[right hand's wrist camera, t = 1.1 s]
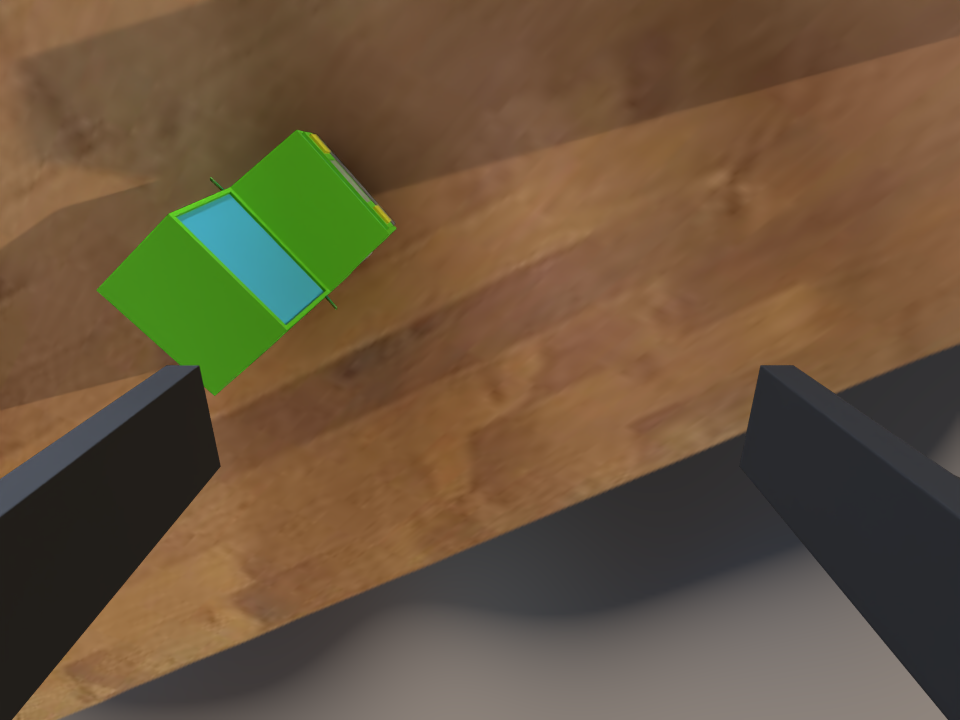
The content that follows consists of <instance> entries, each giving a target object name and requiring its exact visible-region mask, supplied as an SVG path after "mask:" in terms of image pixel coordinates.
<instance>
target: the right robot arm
mask: <svg viewBox="0 0 960 720" xmlns="http://www.w3.org/2000/svg"><path fill="white" fill-rule="evenodd" d="M220 467H221V466H220V461H219V456H218V452H217V447H216V442H215V437H214V432H213V428H212V423H211V418H210V413H209V409H208V404H207V399H206V394H205V390H204V385H203V380H202V375H201V370H200V366H199V365H167V366H165V367H164V368H162V369H161V370H159V371H158V372H156V373H155V374H153V375H152V376H150V377H149V378H148V379H146V380H145V381H143V382H142V383H140V384H139V385H137V386H136V387H134V388H133V389H131V390H130V391H128V392H127V393H126V394H124V395H123V396H121V397H120V398H118V399H117V400H115V401H114V402H112V403H111V404H109V405H108V406H107V407H105V408H104V409H102V410H101V411H99V412H98V413H96V414H95V415H93V416H92V417H90V418H89V419H87V420H86V421H85V422H83V423H82V424H80V425H79V426H77V427H76V428H74V429H73V430H71V431H70V432H68V433H67V434H66V435H64V436H63V437H61V438H60V439H58V440H57V441H55V442H54V443H52V444H51V445H49V446H48V447H46V448H45V449H44V450H42V451H41V452H39V453H38V454H36V455H35V456H33V457H32V458H30V459H29V460H27V461H26V462H25V463H23V464H22V465H20V466H19V467H17V468H16V469H14V470H13V471H11V472H10V473H8V474H7V475H5V476H4V477H3V478H1V479H0V720H12V719H13V718H14V717H15V715H16V714H17V713H18V712H19V711H20V709H21V708H22V707H23V706H24V704H25V703H26V702H27V701H28V700H29V698H30V697H31V696H32V695H33V694H34V692H35V691H36V690H37V689H38V687H39V686H40V685H41V684H42V683H43V681H44V680H45V679H46V678H47V677H48V675H49V674H50V673H51V672H52V670H53V669H54V668H55V667H56V666H57V664H58V663H59V662H60V661H61V660H62V658H63V657H64V656H65V655H66V653H67V652H68V651H69V650H70V649H71V647H72V646H73V645H74V644H75V643H76V641H77V640H78V639H79V638H80V636H81V635H82V634H83V633H84V632H85V630H86V629H87V628H88V627H89V626H90V624H91V623H92V622H93V621H94V619H95V618H96V617H97V616H98V615H99V613H100V612H101V611H102V610H103V609H104V607H105V606H106V605H107V604H108V602H109V601H110V600H111V599H112V598H113V596H114V595H115V594H116V593H117V592H118V590H119V589H120V588H121V587H122V585H123V584H124V583H125V582H126V581H127V579H128V578H129V577H130V576H131V575H132V573H133V572H134V571H135V570H136V568H137V567H138V566H139V565H140V564H141V562H142V561H143V560H144V559H145V558H146V556H147V555H148V554H149V553H150V552H151V550H152V549H153V548H154V547H155V545H156V544H157V543H158V542H159V541H160V539H161V538H162V537H163V536H164V535H165V533H166V532H167V531H168V530H169V528H170V527H171V526H172V525H173V524H174V522H175V521H176V520H177V519H178V518H179V516H180V515H181V514H182V513H183V511H184V510H185V509H186V508H187V507H188V505H189V504H190V503H191V502H192V501H193V499H194V498H195V497H196V496H197V494H198V493H199V492H200V491H201V490H202V488H203V487H204V486H205V485H206V484H207V482H208V481H209V480H210V479H211V477H212V476H213V475H214V474H215V473H216V471H217V470H218V469H219V468H220ZM740 468H741V469H742V470H743V471H744V473H745V474H746V475H747V476H748V477H749V479H750V480H751V481H752V482H753V483H754V485H755V486H756V487H757V488H758V490H759V491H760V492H761V493H762V494H763V496H764V497H765V498H766V499H767V500H768V502H769V503H770V504H771V505H772V507H773V508H774V509H775V510H776V511H777V513H778V514H779V515H780V516H781V518H782V519H783V520H784V521H785V522H786V524H787V525H788V526H789V527H790V528H791V530H792V531H793V532H794V533H795V535H796V536H797V537H798V538H799V539H800V541H801V542H802V543H803V544H804V545H805V547H806V548H807V549H808V550H809V552H810V553H811V554H812V555H813V556H814V558H815V559H816V560H817V561H818V562H819V564H820V565H821V566H822V567H823V568H824V570H825V571H826V572H827V573H828V575H829V576H830V577H831V578H832V579H833V581H834V582H835V583H836V584H837V585H838V587H839V588H840V589H841V590H842V591H843V593H844V594H845V595H846V596H847V598H848V599H849V600H850V601H851V602H852V604H853V605H854V606H855V607H856V609H857V610H858V611H859V612H860V613H861V615H862V616H863V617H864V618H865V619H866V621H867V622H868V623H869V624H870V626H871V627H872V628H873V629H874V630H875V632H876V633H877V634H878V635H879V636H880V638H881V639H882V640H883V641H884V643H885V644H886V645H887V646H888V647H889V649H890V650H891V651H892V652H893V653H894V655H895V656H896V657H897V658H898V659H899V661H900V662H901V663H902V664H903V666H904V667H905V668H906V669H907V670H908V672H909V673H910V674H911V675H912V677H913V678H914V679H915V680H916V681H917V683H918V684H919V685H920V686H921V687H922V689H923V690H924V691H925V692H926V694H927V695H928V696H929V697H930V698H931V700H932V701H933V702H934V703H935V704H936V706H937V707H938V708H939V709H940V710H941V712H942V713H943V714H944V715H945V717H946V718H947V719H948V720H960V478H959V477H957V476H955V475H953V474H952V473H950V472H949V471H947V470H946V469H944V468H943V467H941V466H940V465H938V464H937V463H935V462H934V461H933V460H931V459H930V458H928V457H927V456H925V455H924V454H922V453H921V452H919V451H918V450H916V449H915V448H914V447H912V446H911V445H909V444H908V443H906V442H905V441H903V440H902V439H900V438H899V437H897V436H896V435H894V434H893V433H892V432H890V431H889V430H887V429H886V428H884V427H883V426H881V425H880V424H878V423H877V422H875V421H874V420H873V419H871V418H870V417H868V416H867V415H865V414H864V413H862V412H861V411H859V410H858V409H856V408H855V407H853V406H852V405H851V404H849V403H848V402H846V401H845V400H843V399H842V398H840V397H839V396H837V395H836V394H834V393H833V392H832V391H830V390H829V389H827V388H826V387H824V386H823V385H821V384H820V383H818V382H817V381H815V380H814V379H812V378H811V377H810V376H808V375H807V374H805V373H804V372H802V371H801V370H799V369H798V368H796V367H795V366H793V365H761V366H760V370H759V375H758V380H757V385H756V390H755V394H754V399H753V404H752V409H751V413H750V418H749V423H748V428H747V432H746V437H745V442H744V447H743V452H742V456H741V461H740Z"/></svg>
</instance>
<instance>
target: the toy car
mask: <svg viewBox="0 0 960 720" xmlns="http://www.w3.org/2000/svg"><path fill="white" fill-rule="evenodd" d="M210 181H212V182H213V183H214V184H215V185H216V186H217V187H218V188H219V189H220V190H221V192H218V193H216V194H214V195H211V196H209V197H207V198H204V199H202V200H200V201H197V202H195V203H193V204H190V205H188V206H186V207H183V208H181V209H179V210H176V211H174V212H172V213H169V214H168V215H167V216H166V217H165V218H164V219H163V220H162V221H161V222H160V223H159V224H158V225H157V226H156V228H155V229H154V230H153V231H152V232H151V233H150V234H149V235H148V236H147V237H146V238H145V239H144V240H143V241H142V242H141V243H140V244H139V246H138V247H137V248H136V249H135V250H134V251H133V252H132V253H131V254H130V255H129V256H128V257H127V258H126V259H125V260H124V261H123V262H122V264H121V265H120V266H119V267H118V268H117V269H116V270H115V271H114V272H113V273H112V274H111V275H110V276H109V277H108V278H107V279H106V280H105V282H104V283H103V284H102V285H101V286H100V287H99V288H98V289H97V291H98V292H99V293H100V294H101V295H102V296H103V297H104V298H106V299H107V300H108V301H109V302H110V303H111V304H112V305H113V306H115V307H116V308H117V309H118V310H119V311H120V312H121V313H122V314H123V315H125V316H126V317H127V318H128V319H129V320H130V321H131V322H132V323H134V324H135V325H136V326H137V327H138V328H139V329H140V330H141V331H143V332H144V333H145V334H146V335H147V336H148V337H149V338H150V339H151V340H153V341H154V342H155V343H156V344H157V345H158V346H159V347H160V348H162V349H163V350H164V351H165V352H166V353H167V354H168V355H169V356H170V357H172V358H173V359H174V360H175V361H176V362H177V363H178V364H179V365H199V366H200V370H201V375H202V380H203V385H204V387H205V388H206V389H207V390H209V391H210V392H211V393H212V394H213V395H214V396H215V395H216V394H217V393H219V392H220V391H221V390H222V389H223V388H224V387H225V386H227V385H228V384H229V383H230V382H231V381H232V380H233V379H235V378H236V377H237V376H238V375H239V374H240V373H241V372H243V371H244V370H245V369H246V368H247V367H248V366H249V365H251V364H252V363H253V362H254V361H255V360H256V359H257V358H259V357H260V356H261V355H262V354H263V353H264V352H265V351H266V350H268V349H269V348H270V347H271V346H272V345H273V344H274V343H275V342H277V341H278V340H279V339H280V338H281V337H282V336H283V335H284V334H285V333H286V332H287V331H288V330H289V329H291V328H292V327H293V326H294V325H295V324H296V323H297V322H298V321H299V320H301V319H302V318H303V317H304V316H305V315H306V314H307V313H308V312H310V311H311V310H312V309H313V308H314V307H315V306H316V305H317V304H318V303H320V302H321V301H322V300H323V299H324V298H326V299H327V300H328V301H329V302H330V304H331V305H332V306H333V307H334V308H335V309H337V306H336V305H335V304H334V303H333V302H332V301H331V300H330V298H329V297H328V296H327V295H328V294H329V293H331V292H332V291H333V290H334V289H335V288H336V287H337V286H338V285H339V284H340V283H342V282H343V281H344V280H345V279H346V278H347V277H348V276H349V275H350V274H351V273H352V271H353V270H354V269H355V268H356V267H357V266H358V265H359V264H361V263H362V262H363V261H364V260H365V259H366V258H367V257H369V256H370V255H371V254H372V252H373V251H374V250H375V249H376V248H377V247H378V246H379V245H380V244H381V243H382V242H383V241H385V240H386V239H387V238H388V237H389V236H390V235H391V234H392V233H393V232H394V231H395V230H396V229H397V228H396V227H395V226H394V225H395V222H394V221H393V220H392V219H391V218H390V217H389V216H388V214H387V213H386V212H385V211H384V210H383V209H382V208H381V207H380V205H379V204H378V203H377V202H376V201H375V200H374V199H373V197H372V196H371V195H370V194H369V193H368V192H367V191H366V189H365V188H364V187H363V186H362V185H361V184H360V183H359V181H358V180H357V179H356V178H355V177H354V176H353V175H352V174H351V172H350V171H349V170H348V169H347V168H346V167H345V166H344V164H343V163H342V162H341V161H340V160H339V159H338V158H337V156H336V155H335V154H334V153H333V152H332V151H331V150H330V148H329V147H328V146H327V145H326V144H325V143H324V142H323V141H322V139H321V138H320V137H319V136H318V135H317V134H314V133H313V134H312V133H310V132H304V131H299V130H296V131H295V132H293V133H292V134H291V135H290V136H289V137H288V138H286V139H285V140H284V141H283V142H282V143H281V144H280V145H278V146H277V147H276V148H275V149H274V150H273V151H271V152H270V153H269V154H268V155H267V156H266V157H265V158H263V159H262V160H261V161H260V162H259V163H258V164H257V165H255V166H254V167H253V168H252V169H251V170H250V171H248V172H247V173H246V174H245V175H244V176H243V177H242V178H240V179H239V180H238V181H237V182H236V183H235V184H234V185H232V186H231V187H230V188H227V189H225V190H224V189H223V188H222V187H221V186H220V185H219V184H218V183H217V182H216V181H215V180H214V179H213V178H212V177H210Z"/></svg>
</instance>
